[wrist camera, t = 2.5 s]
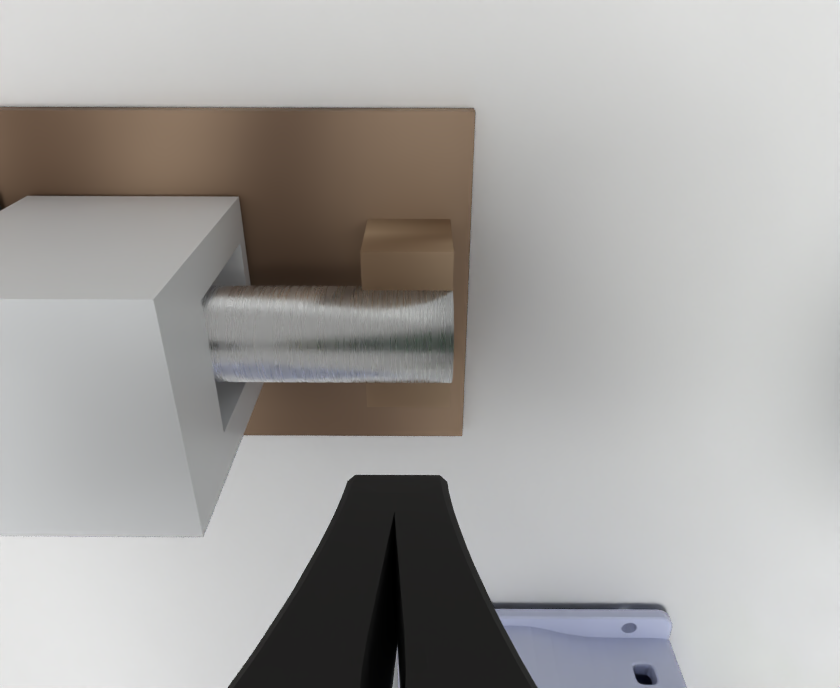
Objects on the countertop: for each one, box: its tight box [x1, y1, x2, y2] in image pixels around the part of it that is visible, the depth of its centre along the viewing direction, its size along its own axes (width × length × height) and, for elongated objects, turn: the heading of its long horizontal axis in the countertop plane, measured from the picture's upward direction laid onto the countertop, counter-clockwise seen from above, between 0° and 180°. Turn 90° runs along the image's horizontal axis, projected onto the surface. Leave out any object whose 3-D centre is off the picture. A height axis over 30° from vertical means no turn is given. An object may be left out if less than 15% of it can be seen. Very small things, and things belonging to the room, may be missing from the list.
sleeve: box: [0, 196, 263, 537], centre depth 15 cm, size 5×5×6 cm
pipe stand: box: [0, 107, 475, 436], centre depth 16 cm, size 22×9×4 cm, turn 90°
